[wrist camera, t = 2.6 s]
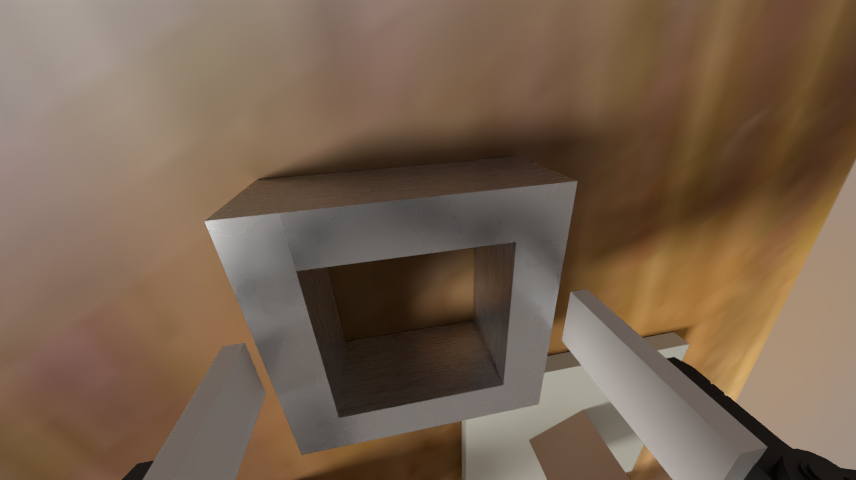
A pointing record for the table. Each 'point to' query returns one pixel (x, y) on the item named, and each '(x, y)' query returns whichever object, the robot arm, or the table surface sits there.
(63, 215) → the table surface
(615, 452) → the post board
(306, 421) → the square frame
